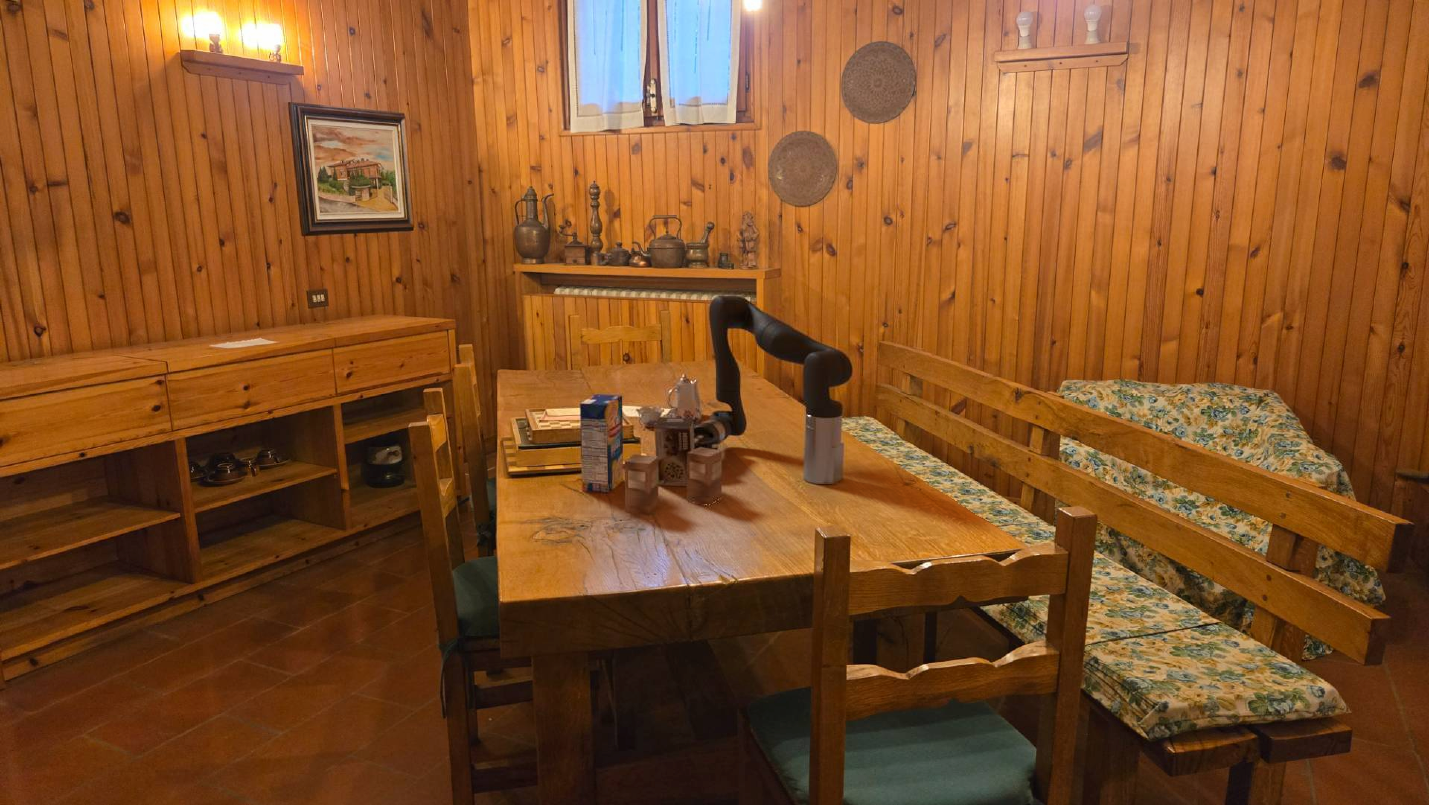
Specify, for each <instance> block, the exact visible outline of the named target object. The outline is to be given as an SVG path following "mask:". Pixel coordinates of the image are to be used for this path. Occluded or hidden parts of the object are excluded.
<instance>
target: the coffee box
mask: <svg viewBox="0 0 1429 805" xmlns="http://www.w3.org/2000/svg"><path fill="white" fill-rule="evenodd" d="M654 425H655V426H654V428H653V430H654V431H653V432H654V445H655V456H656V457H658V466H659V483H658V486H665V487H666V486H669V487H670V486H671V487H672V486H673V487H687V453H688V452H690V451H692V450H695V447H694V427H695V426H694V419H693V418H667V417H662V416H661V417H659V418H658V421H657V423H656V424H654Z"/></svg>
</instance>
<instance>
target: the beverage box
mask: <svg viewBox="0 0 1429 805" xmlns="http://www.w3.org/2000/svg"><path fill="white" fill-rule="evenodd" d="M579 414H580V415H579V416H580V417H579V418H580V460H581V464H580V465H581V492H587V493H589V492H590V493H600V494H610V493H611V492H612V491H613V490H614V489H615V488H616V487H618V486H619V485H620V484H621V483H622V482H624V437H623V436H624V434H623V432H624V431H623V430H624V427H623V423H624V422H623V420H624V419H623V395H615V394H614V395H612V394H601V393H600V394H599V393H595V394H594V395H593V396H590V397H589V398H587V399H585V400H584V401H582V402H580V403H579Z"/></svg>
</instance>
